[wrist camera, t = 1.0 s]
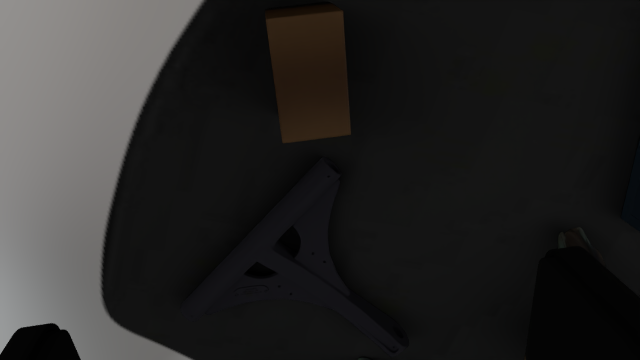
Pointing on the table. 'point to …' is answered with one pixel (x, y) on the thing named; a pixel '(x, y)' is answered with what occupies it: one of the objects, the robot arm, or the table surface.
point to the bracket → (294, 264)
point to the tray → (633, 195)
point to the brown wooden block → (309, 70)
